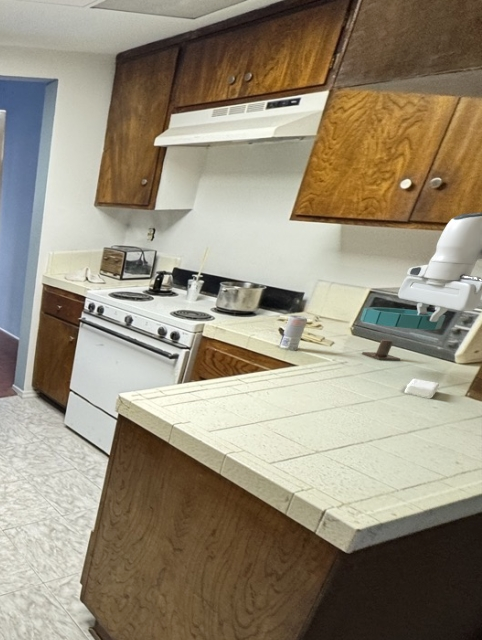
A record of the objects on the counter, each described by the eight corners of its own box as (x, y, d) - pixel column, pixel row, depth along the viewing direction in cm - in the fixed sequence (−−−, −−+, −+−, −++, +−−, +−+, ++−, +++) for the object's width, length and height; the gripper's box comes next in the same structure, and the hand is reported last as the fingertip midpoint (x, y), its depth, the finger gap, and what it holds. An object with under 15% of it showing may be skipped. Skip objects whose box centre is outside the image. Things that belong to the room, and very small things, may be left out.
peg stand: (382, 355, 169) (389, 337, 166) (399, 361, 162) (407, 343, 160) (361, 354, 169) (368, 337, 167) (378, 360, 163) (386, 342, 160)
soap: (430, 399, 129) (435, 389, 128) (403, 393, 133) (407, 383, 132) (435, 392, 134) (440, 383, 133) (409, 387, 138) (413, 377, 137)
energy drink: (290, 346, 177) (301, 315, 173) (300, 350, 172) (311, 318, 168) (275, 346, 178) (285, 315, 173) (284, 350, 173) (295, 318, 168)
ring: (402, 320, 155) (406, 308, 154) (457, 330, 139) (462, 317, 138) (346, 318, 157) (350, 306, 155) (394, 328, 140) (399, 315, 139)
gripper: (499, 278, 125) (474, 328, 130) (425, 268, 143) (406, 313, 149) (474, 277, 125) (450, 327, 130) (403, 268, 144) (385, 312, 149)
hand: (426, 319), depth 140 cm, fingers closed on ring, 2 cm apart
